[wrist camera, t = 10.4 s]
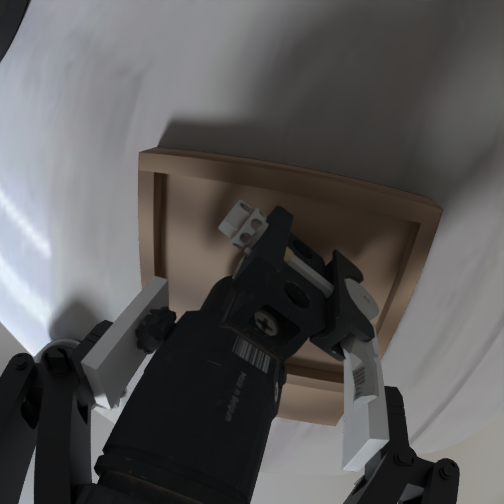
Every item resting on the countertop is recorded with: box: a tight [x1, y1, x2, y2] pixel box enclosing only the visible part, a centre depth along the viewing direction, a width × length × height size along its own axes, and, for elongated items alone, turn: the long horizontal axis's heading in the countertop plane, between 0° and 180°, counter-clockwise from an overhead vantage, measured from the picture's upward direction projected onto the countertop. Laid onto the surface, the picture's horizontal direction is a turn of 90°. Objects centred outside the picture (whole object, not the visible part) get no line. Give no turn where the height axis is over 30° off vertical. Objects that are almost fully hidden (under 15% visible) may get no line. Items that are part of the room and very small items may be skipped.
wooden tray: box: [138, 147, 443, 426], centre depth 20 cm, size 20×16×2 cm
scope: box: [75, 200, 379, 504], centre depth 11 cm, size 8×14×10 cm
